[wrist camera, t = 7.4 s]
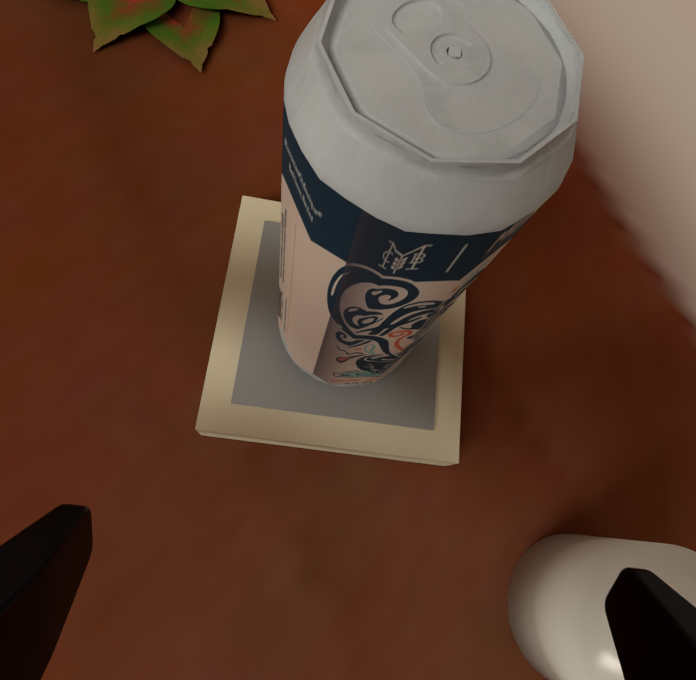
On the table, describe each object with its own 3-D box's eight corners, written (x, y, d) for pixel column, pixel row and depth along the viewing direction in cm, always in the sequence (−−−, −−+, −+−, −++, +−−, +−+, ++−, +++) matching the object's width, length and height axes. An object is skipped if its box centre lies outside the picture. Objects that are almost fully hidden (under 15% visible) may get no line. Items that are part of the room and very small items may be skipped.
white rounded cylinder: (665, 613, 19) (796, 651, 14) (580, 724, 17) (695, 808, 13) (568, 504, 20) (661, 504, 15) (478, 602, 18) (551, 637, 13)
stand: (444, 465, 19) (460, 462, 18) (201, 435, 18) (194, 428, 17) (455, 251, 22) (469, 232, 21) (244, 216, 21) (242, 193, 20)
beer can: (337, 419, 18) (453, 264, 6) (250, 315, 18) (212, 5, 7) (436, 335, 19) (676, 88, 8) (351, 242, 20) (457, -112, 8)
